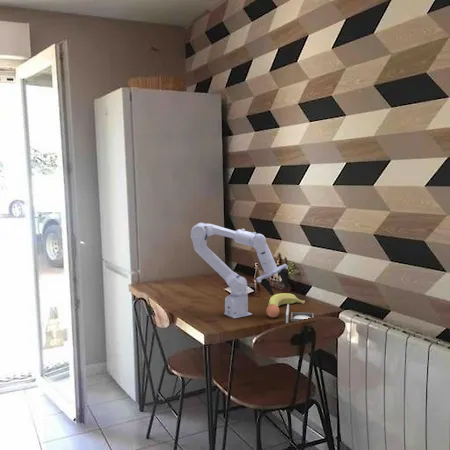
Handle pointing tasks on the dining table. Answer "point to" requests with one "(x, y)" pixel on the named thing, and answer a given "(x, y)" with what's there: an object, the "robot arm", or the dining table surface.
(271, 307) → the ball
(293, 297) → the banana
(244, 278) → the robot arm
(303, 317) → the grey square frame
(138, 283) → the dining table surface
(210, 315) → the dining table surface
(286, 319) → the acrylic wall
